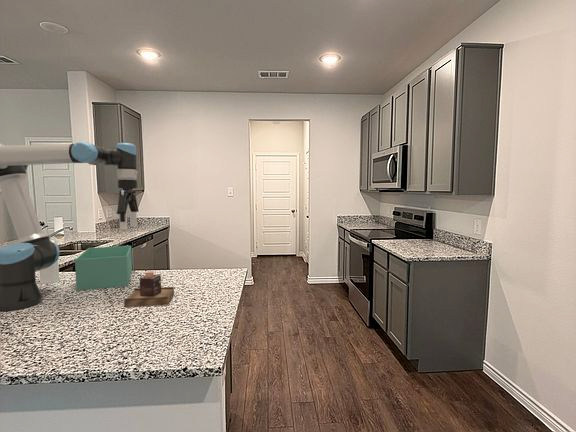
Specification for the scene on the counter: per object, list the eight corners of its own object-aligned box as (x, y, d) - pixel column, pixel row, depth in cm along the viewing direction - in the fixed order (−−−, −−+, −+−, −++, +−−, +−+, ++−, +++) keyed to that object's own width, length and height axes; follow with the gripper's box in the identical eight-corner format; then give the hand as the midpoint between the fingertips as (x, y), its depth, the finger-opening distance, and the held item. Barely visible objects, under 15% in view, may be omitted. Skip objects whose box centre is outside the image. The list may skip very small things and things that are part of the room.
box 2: (153, 296, 131) (152, 278, 130) (139, 296, 132) (139, 278, 131) (161, 292, 136) (161, 275, 136) (148, 291, 138) (148, 274, 137)
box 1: (132, 271, 183) (131, 245, 182) (127, 286, 154) (126, 256, 153) (89, 274, 175) (88, 247, 174) (76, 291, 146) (74, 259, 145)
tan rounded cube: (145, 277, 131) (145, 273, 131) (145, 276, 134) (145, 271, 134) (153, 277, 132) (153, 272, 132) (153, 275, 135) (153, 270, 135)
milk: (54, 283, 158) (52, 238, 156) (39, 284, 156) (37, 238, 155) (59, 279, 164) (57, 236, 162) (45, 280, 162) (43, 236, 160)
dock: (124, 307, 126) (124, 299, 126) (134, 295, 140) (134, 288, 139) (167, 304, 129) (167, 297, 128) (173, 293, 142) (173, 286, 142)
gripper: (127, 178, 131) (128, 231, 133) (144, 180, 155) (145, 224, 157) (107, 178, 130) (108, 231, 131) (127, 180, 154) (128, 224, 156)
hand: (128, 227), depth 144 cm, fingers open, 13 cm apart
